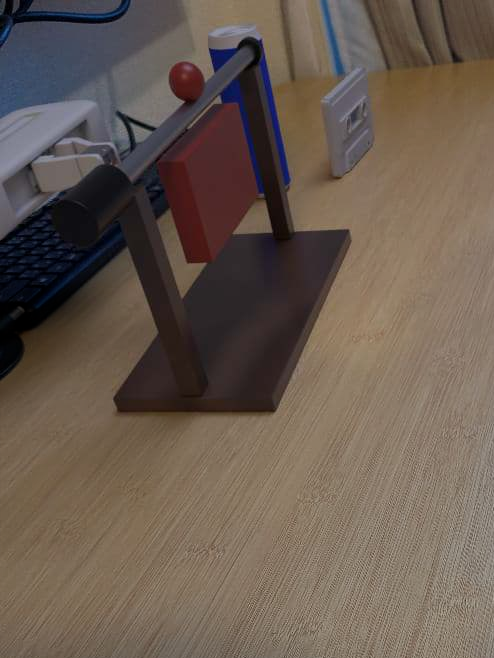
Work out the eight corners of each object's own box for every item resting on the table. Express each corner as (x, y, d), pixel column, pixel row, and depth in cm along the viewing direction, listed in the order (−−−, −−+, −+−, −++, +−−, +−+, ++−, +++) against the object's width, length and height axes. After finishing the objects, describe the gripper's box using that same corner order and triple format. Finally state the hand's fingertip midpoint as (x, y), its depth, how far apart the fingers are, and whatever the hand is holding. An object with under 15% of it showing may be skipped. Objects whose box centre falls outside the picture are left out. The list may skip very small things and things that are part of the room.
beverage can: (271, 177, 91) (237, 20, 80) (301, 186, 88) (270, 24, 77) (234, 193, 88) (194, 34, 78) (263, 203, 85) (226, 39, 75)
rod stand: (117, 412, 60) (28, 202, 49) (229, 246, 78) (182, 69, 68) (275, 411, 57) (217, 192, 47) (351, 241, 76) (322, 57, 66)
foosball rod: (109, 363, 50) (30, 171, 42) (260, 159, 73) (227, 11, 65) (149, 362, 49) (76, 168, 41) (288, 157, 72) (258, 8, 65)
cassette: (364, 138, 96) (354, 65, 91) (379, 138, 96) (369, 65, 90) (328, 178, 88) (315, 101, 83) (344, 178, 88) (332, 101, 82)
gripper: (28, 164, 72) (174, 154, 70) (-111, 271, 58) (66, 264, 55) (-4, 85, 68) (150, 72, 65) (-163, 180, 54) (26, 168, 51)
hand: (111, 161), depth 60 cm, fingers closed
